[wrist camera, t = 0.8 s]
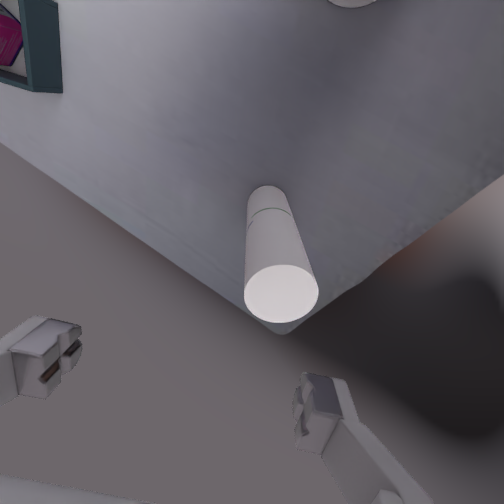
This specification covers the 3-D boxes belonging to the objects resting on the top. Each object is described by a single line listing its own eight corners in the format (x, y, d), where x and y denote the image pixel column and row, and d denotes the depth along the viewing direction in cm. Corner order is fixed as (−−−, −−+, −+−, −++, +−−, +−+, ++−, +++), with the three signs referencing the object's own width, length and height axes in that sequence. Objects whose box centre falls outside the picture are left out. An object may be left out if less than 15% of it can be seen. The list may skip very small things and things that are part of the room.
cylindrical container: (240, 213, 48) (231, 307, 26) (259, 178, 44) (267, 252, 23) (274, 229, 49) (292, 331, 28) (295, 197, 46) (333, 283, 24)
